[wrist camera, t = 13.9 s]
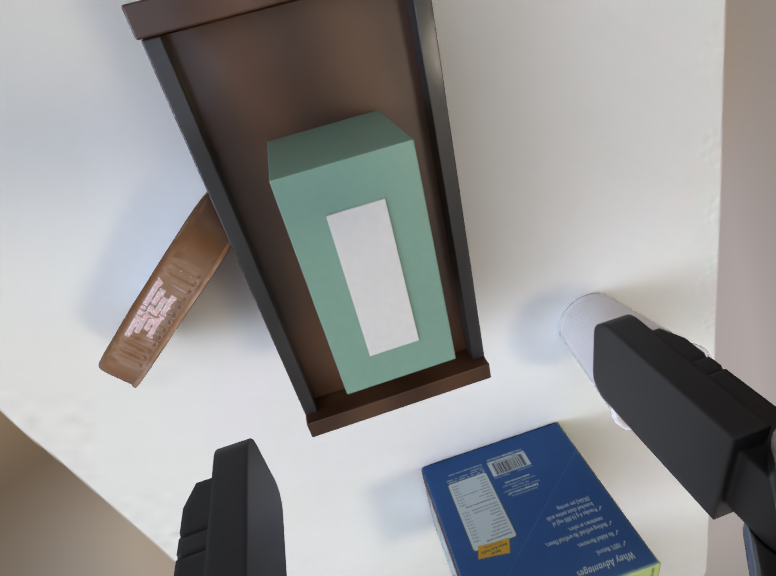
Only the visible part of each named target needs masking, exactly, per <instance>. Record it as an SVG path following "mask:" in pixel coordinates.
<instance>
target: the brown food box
mask: <svg viewBox="0 0 776 576" xmlns="http://www.w3.org/2000/svg"><path fill="white" fill-rule="evenodd" d="M230 247H231V244H230V242H229V239H228V237H227V235H226V233H225V230H224V228H223V226H222V224H221V221H220V219H219V217H218V214H217V212H216V210H215V208H214V205H213V203H212V201H211V199H210V196H209V194H208V192H207V193H206V194H205V195H204V196H203V197H202V199H201V200H200V201H199V203H198V204H197V206H196V207H195V208H194V210H193V211H192V213H191V214H190V216H189V217H188V218H187V220H186V221H185V223H184V225H183V226H182V228H181V229H180V231H179V232H178V234H177V235H176V237H175V239H174V240H173V242H172V243H171V245H170V246H169V248H168V249H167V251H166V252H165V254H164V256H163V257H162V259H161V260H160V262H159V264H158V265H157V267H156V268H155V270H154V272H153V273H152V275H151V276H150V278H149V280H148V281H147V283H146V284H145V286H144V287H143V289H142V291H141V292H140V294H139V295H138V297H137V299H136V300H135V302H134V303H133V305H132V307H131V308H130V310H129V312H128V314H127V315H126V317H125V319H124V320H123V322H122V324H121V325H120V327H119V329H118V330H117V332H116V334H115V336H114V337H113V339H112V341H111V342H110V344H109V346H108V347H107V349H106V351H105V353H104V354H103V356H102V358H101V360H100V362H99V368H100V369H101V370H103V371H104V372H106V373H108V374H110V375H112V376H114V377H117V378H119V379H121V380H123V381H125V382H128V383H130V384H132V386H133V387H134V388H136V387H137V386H138V385H139V384H140V382H141V381H142V379H143V378H144V377H145V375H146V374H147V372H148V371H149V369H150V368H151V367H152V365H153V363H154V362H155V361H156V359H157V358H158V356H159V355H160V353H161V351H162V350H163V349H164V347H165V346H166V344H167V343H168V341H169V340H170V338H171V337H172V335H173V334H174V332H175V330H176V329H177V328H178V326H179V325H180V323H181V322H182V320H183V319H184V317H185V316H186V314H187V313H188V311H189V310H190V308H191V307H192V305H193V304H194V302H195V301H196V299H197V298H198V296H199V295H200V293H201V292H202V290H203V289H204V287H205V286H206V284H207V283H208V281H209V280H210V279H211V277H212V276H213V274H214V272H215V271H216V269H217V268H218V266H219V265H220V263H221V261H222V260H223V258H224V257H225V255H226V254H227V252H228V250H229V249H230Z"/></svg>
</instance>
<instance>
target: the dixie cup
mask: <svg viewBox="0 0 776 576" xmlns="http://www.w3.org/2000/svg"><path fill="white" fill-rule="evenodd" d="M627 314H630V315H633V316H635V317H636V318H638V319H639V320H640V321H642V322H643V323H644V324H645V325H647V326H648V327H649V328H650V329H652V330H655V329H658V328H661V329H663V330H666V329H665V328H663V327H661V326H660V325H658V324H656V323H654V322H653V321H651V320H649V319H647V318H646V317H644V316H642V315H641V314H639V313H637V312H635V311H634V310H632V309H630V308H628V307H627V306H625V305H623V304H622V303H620V302H618V301H616V300H615V299H613V298H611V297H609V296H608V295H606V294H603V293H592V294H588V295H585V296H583V297H581V298H579V299H577V300H576V301H575V302H573V303H572V304H571V305H570V306H569V307H568V308H567V309H566V311H565V312H564V314H563V316H562V318H561V320H560V325H559V332H560V335H561V337H562V339H563V340H564V342H565V343H566V345H567V346H568V347H569V349H570V350H571V352H572V353H573V355H574V356H575V358H576V359H577V361H578V362H579V364H580V365H581V367H582V368H583V370H584V371H585V373H586V374H587V376H588V377H589V379H590V380H591V382H592V383H593V385H594V386H595V388H596V389H597V387H596V385H595V382H594V378H593V347H594V329H595V326H596V325H597V324H600V323H603V322H606V321H609V320H612V319H615V318H618V317H621V316H624V315H627ZM666 331H668V330H666ZM668 332H670V331H668ZM671 333H672V332H671ZM692 344H693V345H695V346H696V347H697V348H699V349H700V350H701V351H703V352H704V353H705V355H706V357H708V356H709V357H711V356H710V354H709V353H708V351H707V350H706V349H705V348H703V347H702V346H700V345H697V344H694V343H692ZM597 391H598V389H597ZM598 392H599V391H598ZM599 394H600V393H599ZM600 395H601V394H600ZM601 397H602V396H601ZM602 398H603V397H602ZM603 400H604V399H603ZM604 401H605V400H604ZM605 402H606V401H605ZM606 404H607V405H608V407H609V408H610V411H611V415H612V417H613V419H614V421H615V422H616V423H617V424H618V425H619V426H620V427H622V428H624V429H626V430H630V431H632V430H631V428H630V427H629V426H628V425H627V424H626V423H625V422H624V421H623V420H622V419H621V417H620V416H619V415H618V414H617V413H616V412H615V411H614V410H613V409H612V408H611V406H610V405H609V404H608V403H607V402H606Z"/></svg>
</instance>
